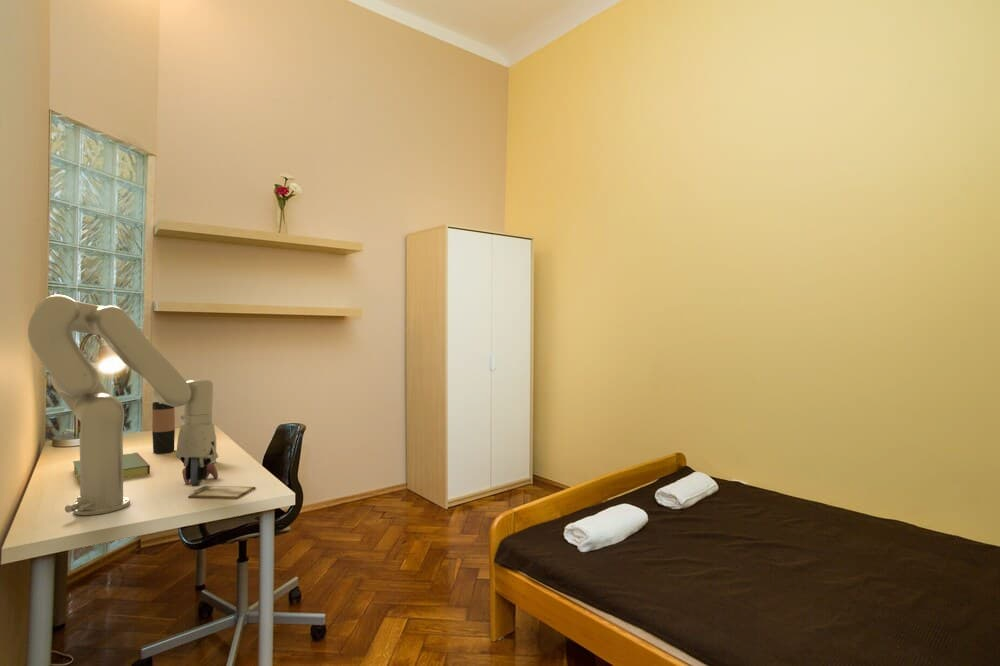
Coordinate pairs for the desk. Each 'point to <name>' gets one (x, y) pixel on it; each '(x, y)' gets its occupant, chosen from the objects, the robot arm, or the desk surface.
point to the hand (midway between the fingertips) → (196, 478)
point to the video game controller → (210, 470)
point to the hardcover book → (126, 466)
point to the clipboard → (221, 492)
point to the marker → (194, 472)
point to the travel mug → (163, 428)
